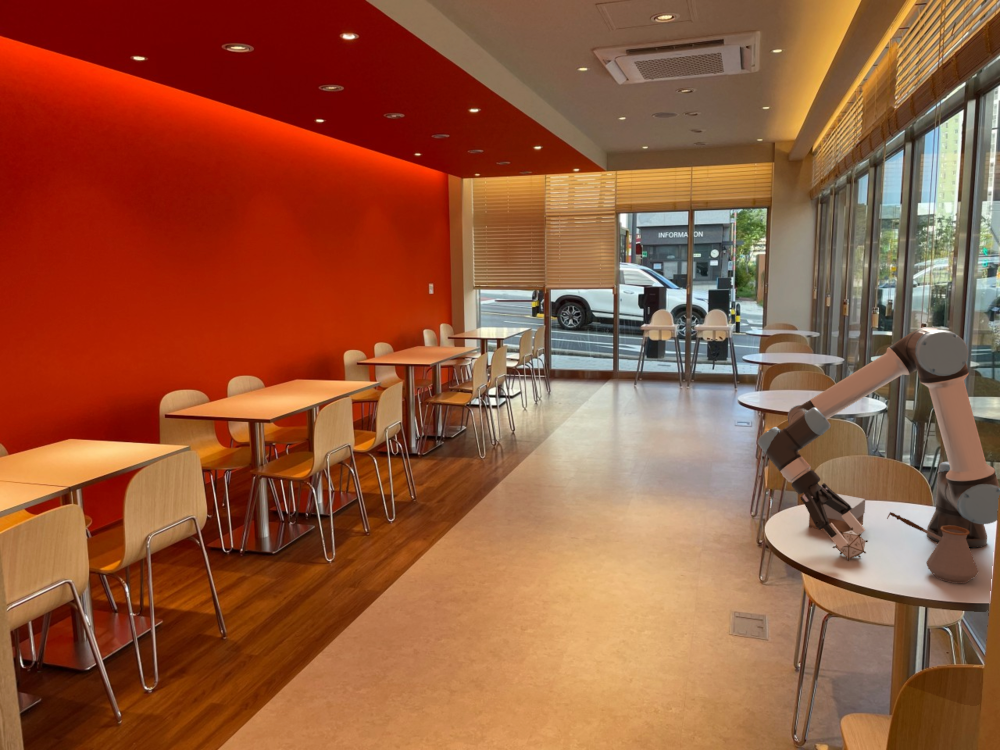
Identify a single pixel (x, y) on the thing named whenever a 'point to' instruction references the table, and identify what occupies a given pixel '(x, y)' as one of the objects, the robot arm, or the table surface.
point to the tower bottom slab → (837, 523)
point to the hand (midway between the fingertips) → (853, 539)
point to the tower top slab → (856, 510)
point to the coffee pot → (949, 554)
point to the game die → (852, 544)
